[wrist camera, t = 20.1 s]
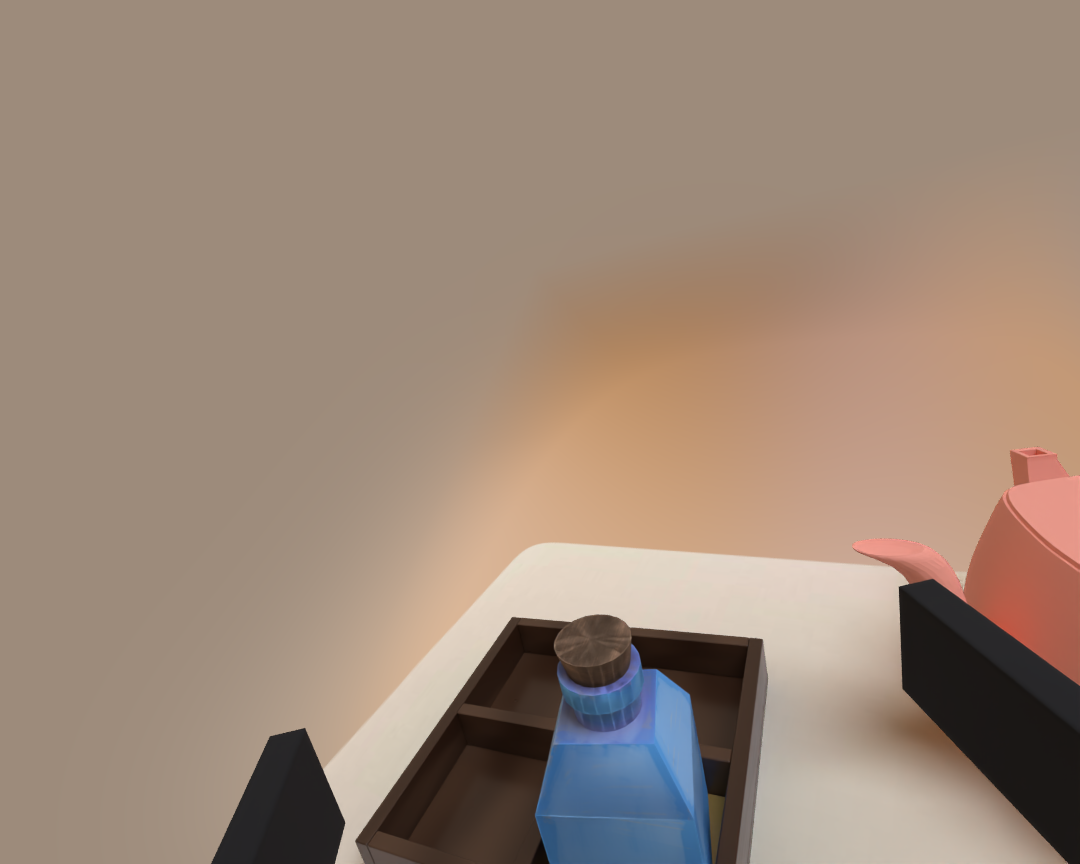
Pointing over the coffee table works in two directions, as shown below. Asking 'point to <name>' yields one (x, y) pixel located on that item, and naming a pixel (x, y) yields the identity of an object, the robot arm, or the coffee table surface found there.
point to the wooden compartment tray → (525, 739)
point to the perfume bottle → (621, 758)
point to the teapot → (1016, 561)
